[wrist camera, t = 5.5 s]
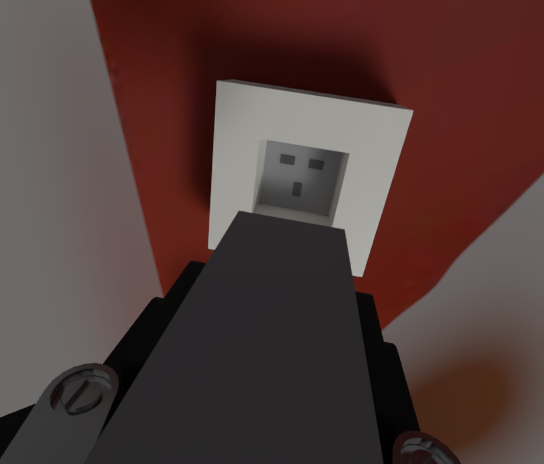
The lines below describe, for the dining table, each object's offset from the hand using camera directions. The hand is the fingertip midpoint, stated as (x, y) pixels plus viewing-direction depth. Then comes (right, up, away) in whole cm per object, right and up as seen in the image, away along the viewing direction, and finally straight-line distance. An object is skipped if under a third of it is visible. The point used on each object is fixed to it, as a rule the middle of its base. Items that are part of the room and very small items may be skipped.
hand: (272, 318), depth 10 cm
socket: (+2, +7, +14) cm, 16 cm away
